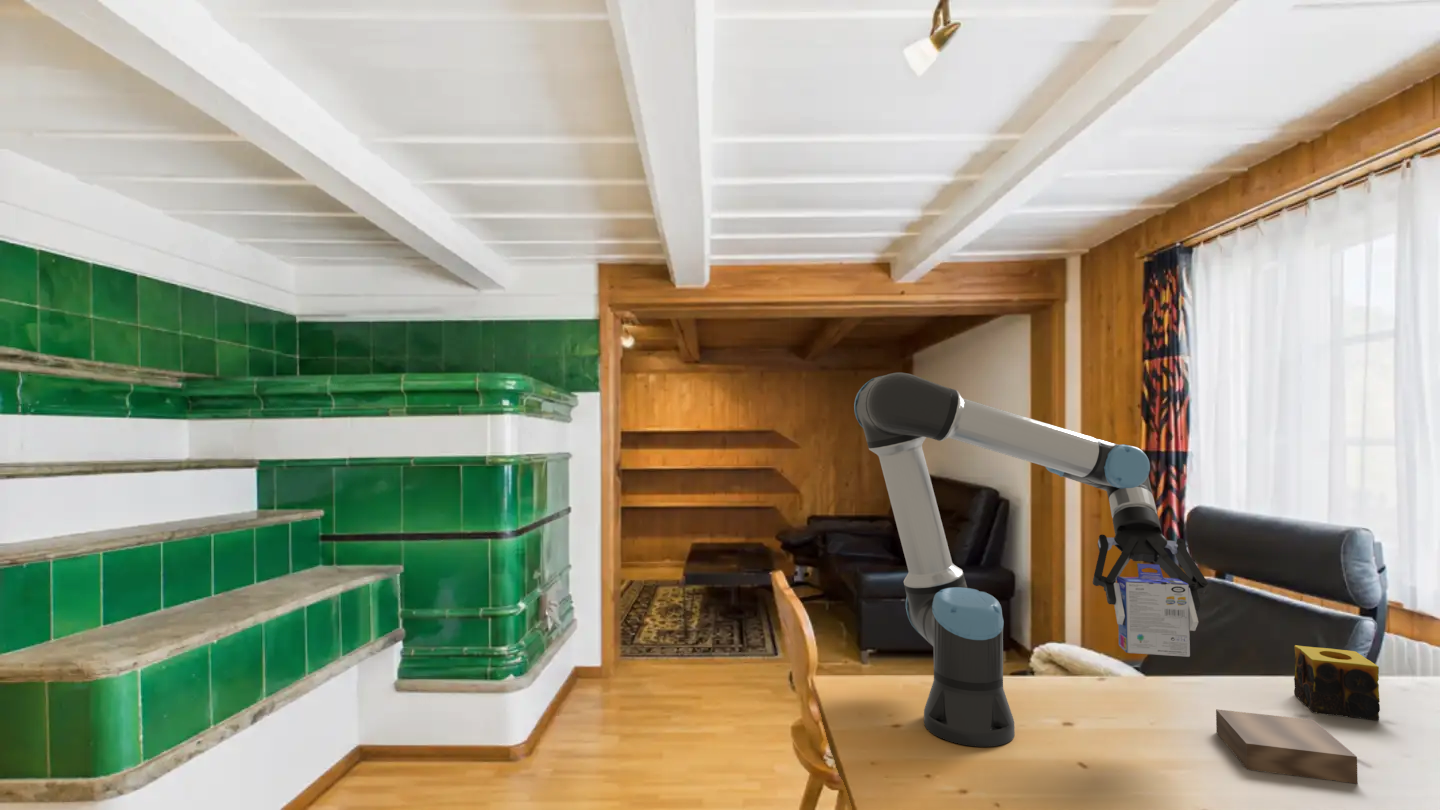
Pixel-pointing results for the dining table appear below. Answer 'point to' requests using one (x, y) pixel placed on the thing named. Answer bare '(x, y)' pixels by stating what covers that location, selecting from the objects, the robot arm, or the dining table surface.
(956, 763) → the dining table surface
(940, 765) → the dining table surface
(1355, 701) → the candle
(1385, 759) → the dining table surface
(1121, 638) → the ink cartridge box
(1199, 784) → the dining table surface
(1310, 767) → the walnut stand
